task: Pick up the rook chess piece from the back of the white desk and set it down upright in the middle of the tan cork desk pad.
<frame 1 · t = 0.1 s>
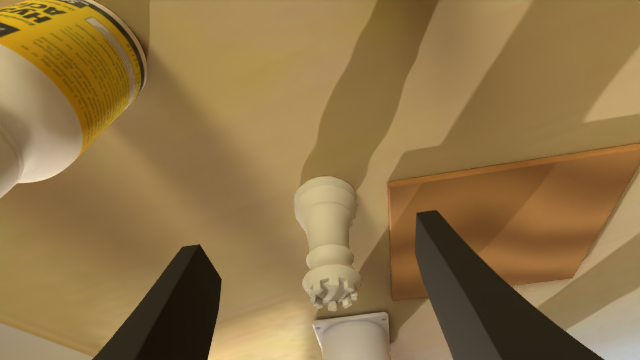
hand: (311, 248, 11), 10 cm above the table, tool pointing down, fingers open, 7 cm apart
supplement bottle: (94, 51, 16), on the table
desk pad: (491, 234, 26), on the table
rook chess piece: (324, 194, 23), on the table
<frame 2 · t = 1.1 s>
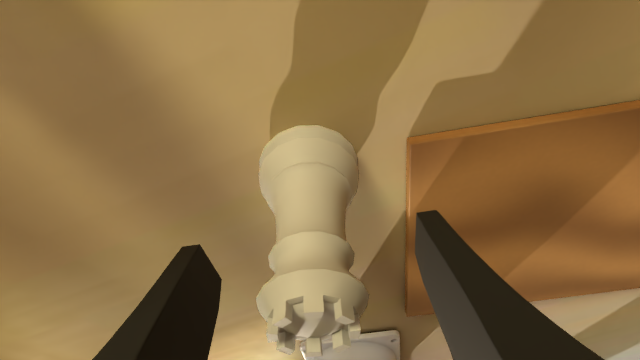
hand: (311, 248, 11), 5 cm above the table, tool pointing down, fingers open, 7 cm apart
desk pad: (554, 223, 18), on the table
rook chess piece: (308, 159, 15), on the table
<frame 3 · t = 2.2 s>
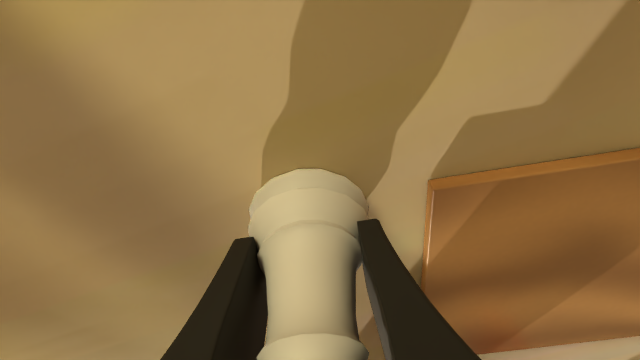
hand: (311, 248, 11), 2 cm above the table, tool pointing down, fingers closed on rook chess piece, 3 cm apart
desk pad: (592, 268, 16), on the table
rook chess piece: (309, 203, 12), on the table, touching gripper
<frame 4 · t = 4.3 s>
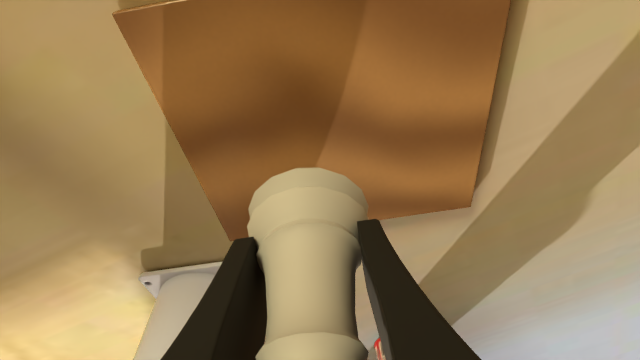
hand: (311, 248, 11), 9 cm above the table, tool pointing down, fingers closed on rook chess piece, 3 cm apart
soda can: (401, 334, 35), on the table
desk pad: (332, 127, 18), on the table
rook chess piece: (308, 202, 12), point 7 cm above the table, touching gripper
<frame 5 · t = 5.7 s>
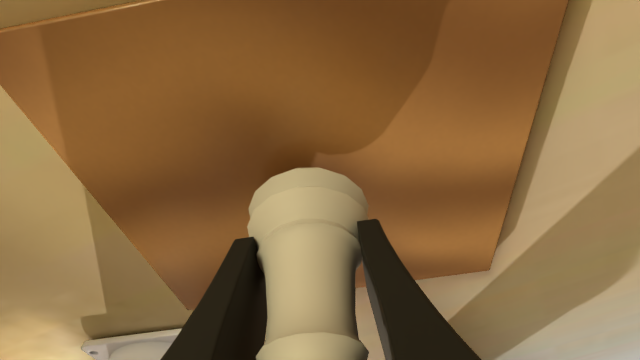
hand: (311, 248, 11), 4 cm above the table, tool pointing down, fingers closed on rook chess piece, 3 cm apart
desk pad: (309, 182, 13), on the table
rook chess piece: (308, 202, 12), point 1 cm above the table, touching gripper
when the fingers open (3 cm above the table, at t = 6.3 s): rook chess piece stays where it is, resting on desk pad.
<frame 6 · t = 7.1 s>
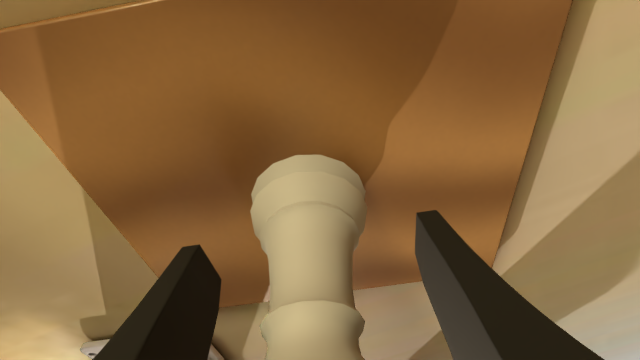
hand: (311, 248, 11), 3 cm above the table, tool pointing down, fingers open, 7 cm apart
desk pad: (309, 184, 13), on the table
rook chess piece: (308, 189, 13), resting on desk pad
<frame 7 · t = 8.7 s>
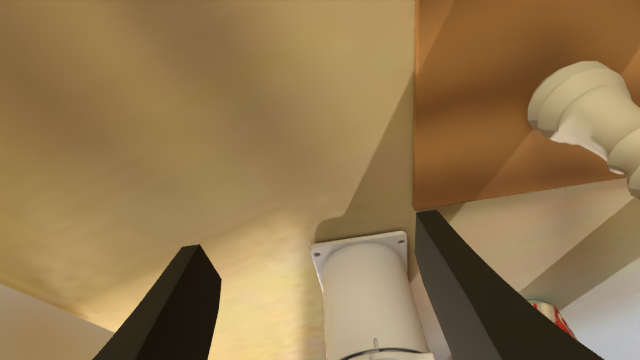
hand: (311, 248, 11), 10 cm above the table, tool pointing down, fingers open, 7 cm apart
soda can: (521, 310, 36), on the table
desk pad: (556, 93, 19), on the table
rook chess piece: (560, 95, 19), resting on desk pad
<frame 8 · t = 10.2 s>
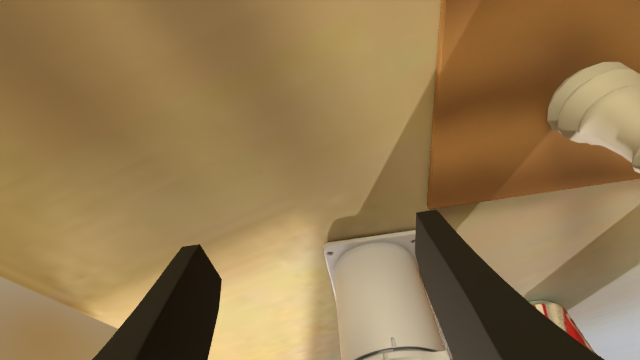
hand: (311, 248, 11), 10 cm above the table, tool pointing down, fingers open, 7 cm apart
soda can: (529, 310, 36), on the table
desk pad: (576, 93, 19), on the table
rook chess piece: (580, 95, 19), resting on desk pad
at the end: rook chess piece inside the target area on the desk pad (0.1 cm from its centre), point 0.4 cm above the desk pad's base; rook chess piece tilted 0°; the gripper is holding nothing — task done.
